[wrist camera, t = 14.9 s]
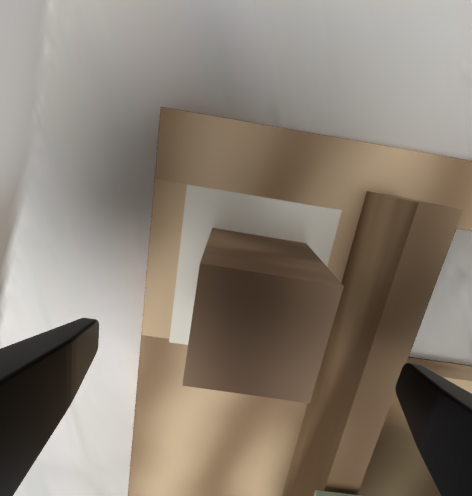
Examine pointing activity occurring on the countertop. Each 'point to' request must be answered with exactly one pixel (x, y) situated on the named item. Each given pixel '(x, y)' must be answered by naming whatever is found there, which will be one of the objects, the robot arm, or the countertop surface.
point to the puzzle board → (343, 329)
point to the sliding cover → (330, 493)
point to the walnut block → (260, 317)
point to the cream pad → (245, 221)
